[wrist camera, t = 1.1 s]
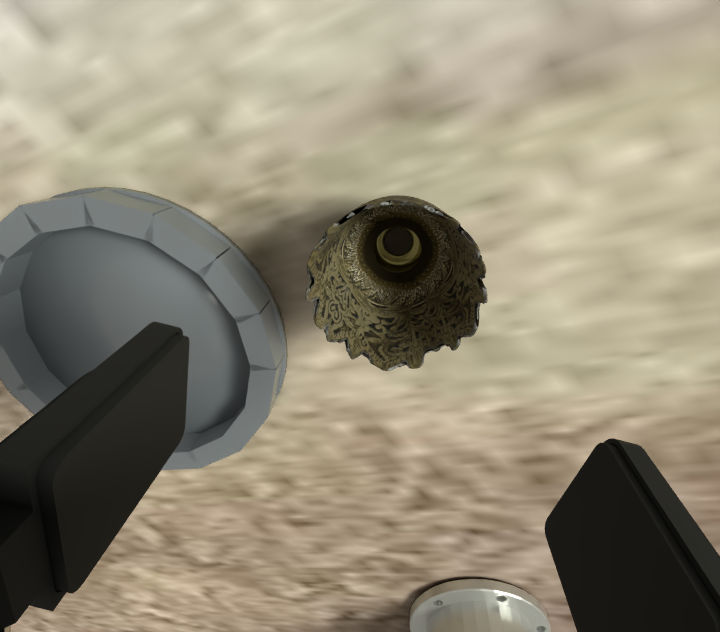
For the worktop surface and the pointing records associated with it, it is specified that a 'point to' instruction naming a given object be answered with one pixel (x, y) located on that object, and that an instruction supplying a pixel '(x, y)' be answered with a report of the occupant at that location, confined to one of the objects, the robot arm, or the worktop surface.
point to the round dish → (138, 308)
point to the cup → (396, 283)
